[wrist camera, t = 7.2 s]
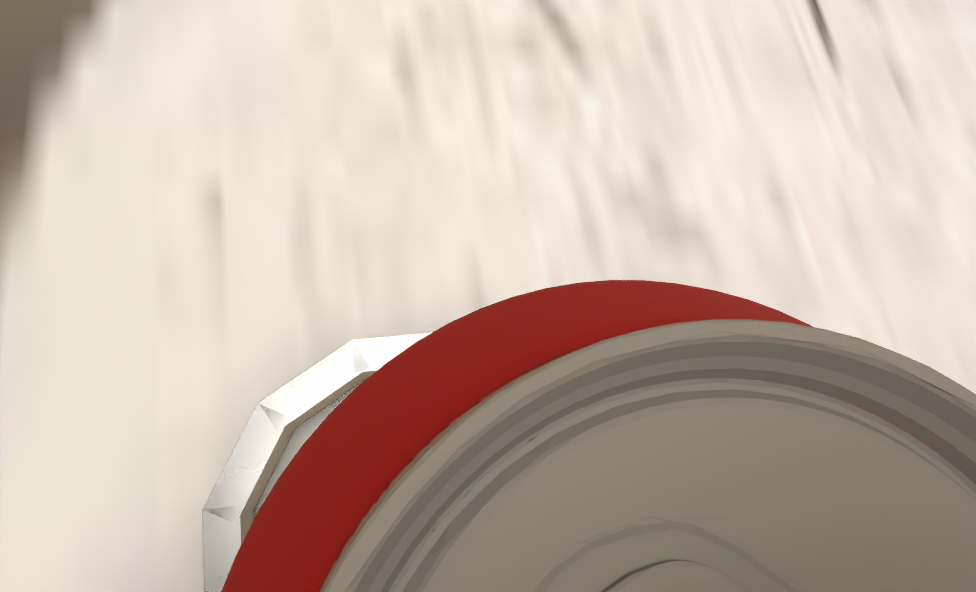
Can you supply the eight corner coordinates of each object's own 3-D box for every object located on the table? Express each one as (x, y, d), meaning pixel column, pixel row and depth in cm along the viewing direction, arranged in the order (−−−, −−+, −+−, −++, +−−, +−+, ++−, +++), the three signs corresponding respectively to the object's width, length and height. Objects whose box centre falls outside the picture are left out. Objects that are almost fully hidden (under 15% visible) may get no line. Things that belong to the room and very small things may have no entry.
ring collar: (642, 703, 21) (668, 729, 19) (228, 784, 19) (208, 821, 17) (585, 328, 23) (603, 316, 21) (216, 362, 21) (198, 353, 19)
